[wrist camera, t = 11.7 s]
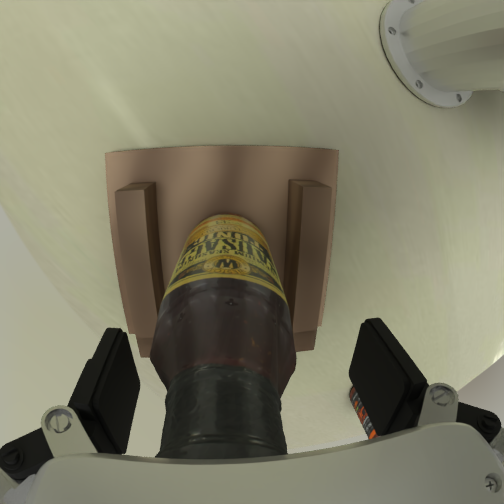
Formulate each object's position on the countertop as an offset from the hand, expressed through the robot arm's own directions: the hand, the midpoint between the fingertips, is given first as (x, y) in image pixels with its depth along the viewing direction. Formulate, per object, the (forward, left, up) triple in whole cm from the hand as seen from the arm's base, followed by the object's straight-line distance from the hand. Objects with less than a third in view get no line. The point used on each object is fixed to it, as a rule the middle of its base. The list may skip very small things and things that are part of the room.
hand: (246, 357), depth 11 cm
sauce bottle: (0, 0, -14) cm, 14 cm away
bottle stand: (0, 0, -15) cm, 15 cm away
